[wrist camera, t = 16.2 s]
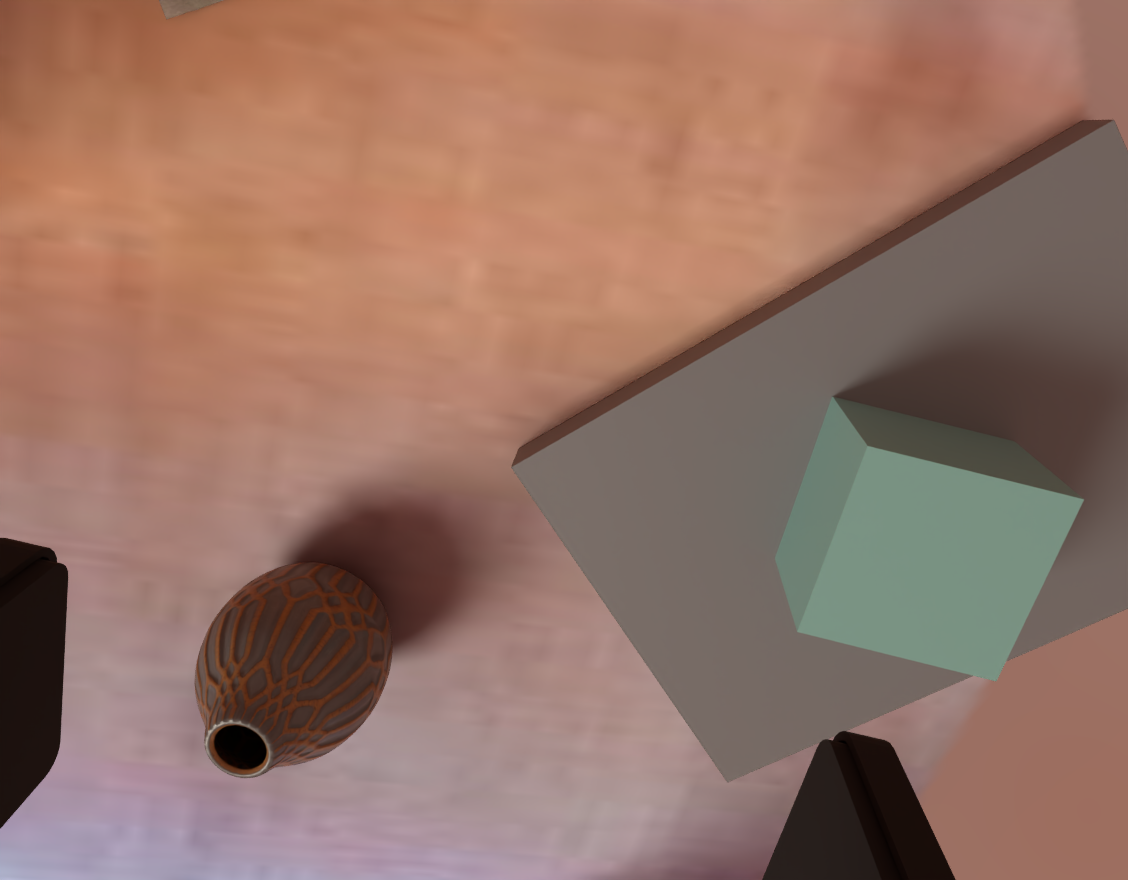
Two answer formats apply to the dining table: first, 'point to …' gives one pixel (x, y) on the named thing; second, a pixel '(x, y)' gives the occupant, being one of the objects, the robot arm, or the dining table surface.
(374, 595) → the vase
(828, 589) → the seafoam cuboid
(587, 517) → the post base
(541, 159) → the dining table surface
